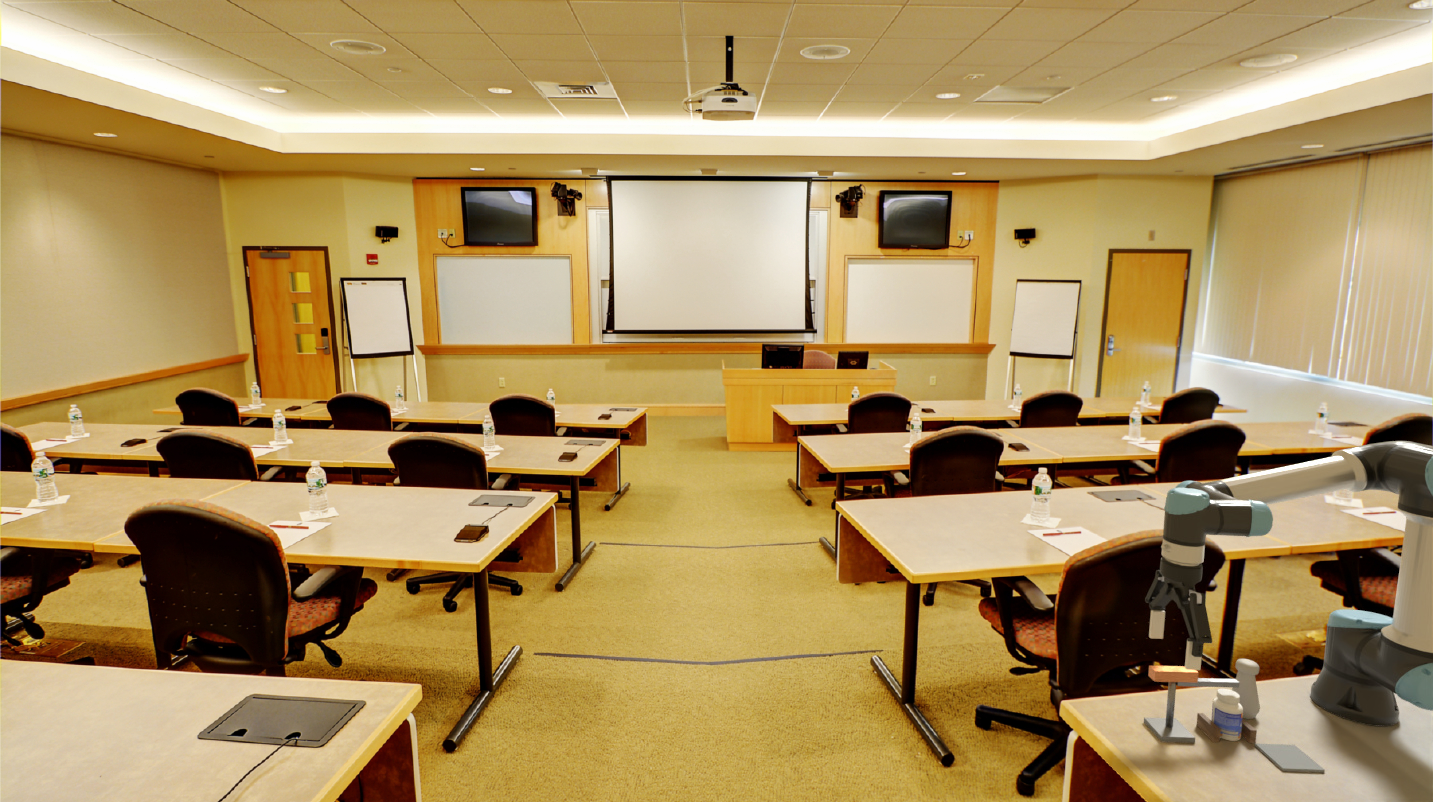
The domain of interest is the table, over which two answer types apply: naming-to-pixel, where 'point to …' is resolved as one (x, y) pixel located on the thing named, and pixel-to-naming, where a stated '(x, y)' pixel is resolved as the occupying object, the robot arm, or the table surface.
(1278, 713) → the table surface
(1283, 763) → the pad
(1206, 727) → the cradle
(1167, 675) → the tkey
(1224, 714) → the pill bottle
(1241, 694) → the salt shaker
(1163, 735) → the grey stand base plate
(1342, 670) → the robot arm
